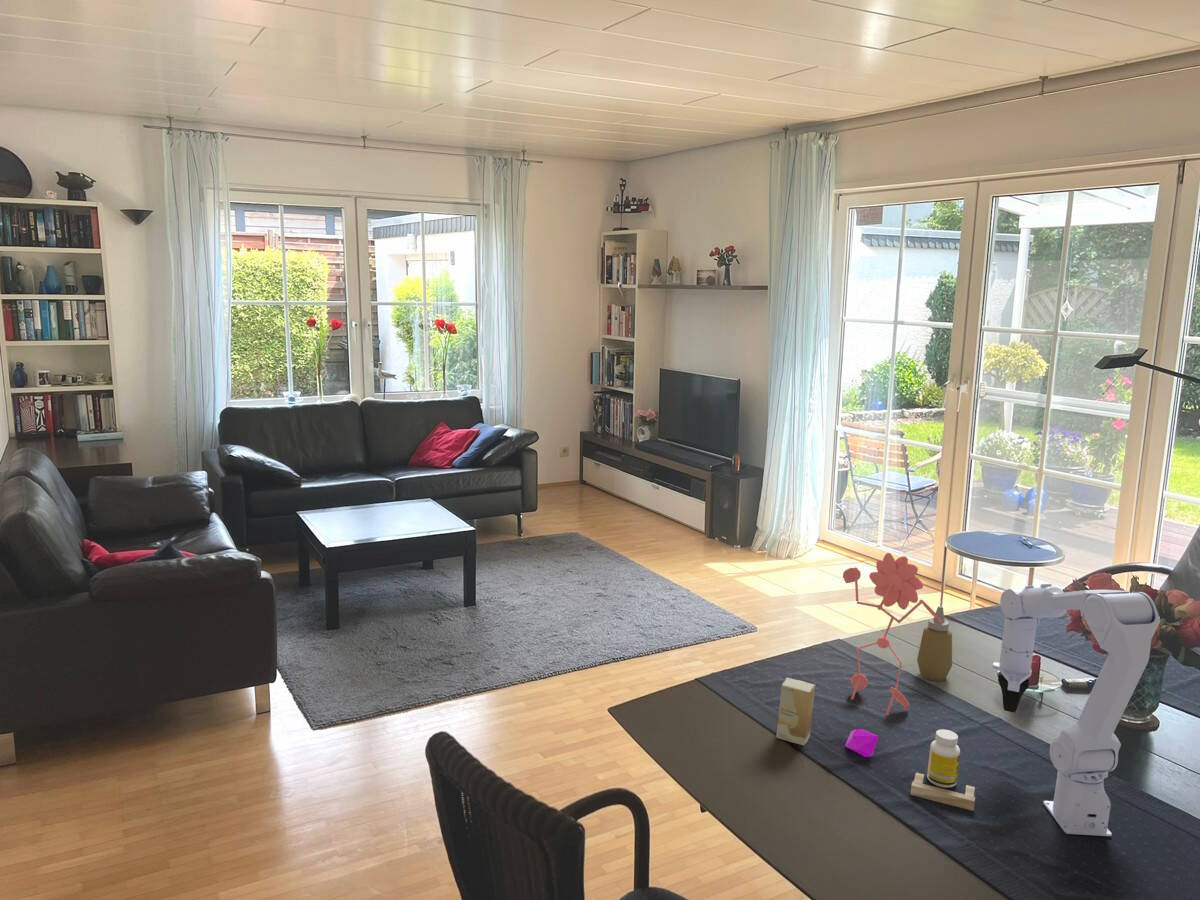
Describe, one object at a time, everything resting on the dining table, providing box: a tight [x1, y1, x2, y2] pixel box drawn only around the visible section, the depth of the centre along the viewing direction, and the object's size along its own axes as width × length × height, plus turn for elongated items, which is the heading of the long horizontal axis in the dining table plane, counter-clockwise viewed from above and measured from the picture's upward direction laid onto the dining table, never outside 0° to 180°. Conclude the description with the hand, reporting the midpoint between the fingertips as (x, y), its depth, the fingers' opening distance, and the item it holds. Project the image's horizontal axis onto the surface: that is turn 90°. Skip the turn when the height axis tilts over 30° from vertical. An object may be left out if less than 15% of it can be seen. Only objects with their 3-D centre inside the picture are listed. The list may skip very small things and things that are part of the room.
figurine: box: [842, 552, 943, 727], centre depth 200 cm, size 15×26×35 cm, turn 40°
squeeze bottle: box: [916, 605, 953, 682], centre depth 214 cm, size 8×8×18 cm
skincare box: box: [776, 677, 816, 746], centre depth 184 cm, size 6×4×12 cm
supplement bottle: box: [926, 729, 961, 789], centre depth 169 cm, size 5×5×10 cm
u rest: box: [910, 772, 976, 812], centre depth 165 cm, size 5×11×2 cm, turn 64°
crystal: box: [844, 728, 879, 758], centre depth 180 cm, size 5×5×5 cm
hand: (1009, 710), depth 177 cm, fingers closed
